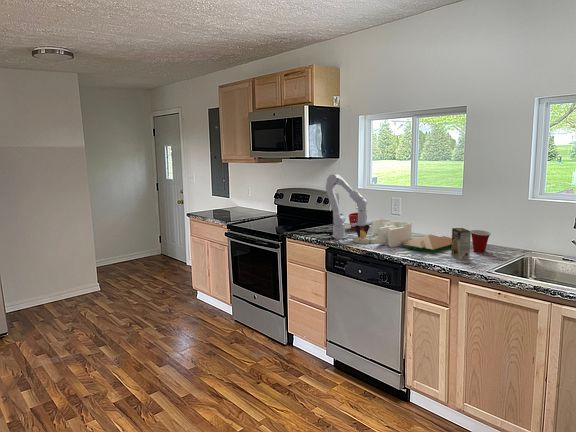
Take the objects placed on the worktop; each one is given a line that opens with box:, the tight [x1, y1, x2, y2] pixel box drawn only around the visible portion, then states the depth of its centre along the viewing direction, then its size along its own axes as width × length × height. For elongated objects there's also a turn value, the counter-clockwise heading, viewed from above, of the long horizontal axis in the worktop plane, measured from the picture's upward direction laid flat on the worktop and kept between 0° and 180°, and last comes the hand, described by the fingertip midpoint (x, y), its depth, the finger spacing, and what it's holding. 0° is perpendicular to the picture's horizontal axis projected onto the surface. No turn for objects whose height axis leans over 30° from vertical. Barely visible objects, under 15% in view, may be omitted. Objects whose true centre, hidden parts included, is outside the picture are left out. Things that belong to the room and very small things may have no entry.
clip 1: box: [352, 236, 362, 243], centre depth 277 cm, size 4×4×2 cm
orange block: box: [359, 230, 367, 239], centre depth 285 cm, size 6×4×5 cm, turn 12°
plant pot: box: [348, 212, 368, 231], centre depth 315 cm, size 13×13×12 cm
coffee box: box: [450, 227, 472, 261], centre depth 231 cm, size 9×6×16 cm
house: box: [401, 234, 452, 255], centre depth 258 cm, size 23×33×8 cm
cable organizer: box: [377, 225, 407, 248], centre depth 264 cm, size 15×11×12 cm
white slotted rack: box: [370, 218, 412, 241], centre depth 286 cm, size 25×11×11 cm, turn 39°
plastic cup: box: [470, 229, 491, 254], centre depth 242 cm, size 11×11×12 cm
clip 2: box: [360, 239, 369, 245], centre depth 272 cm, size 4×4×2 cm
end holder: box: [364, 235, 378, 244], centre depth 276 cm, size 9×9×2 cm
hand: (362, 236), depth 284 cm, fingers closed on orange block, 4 cm apart
